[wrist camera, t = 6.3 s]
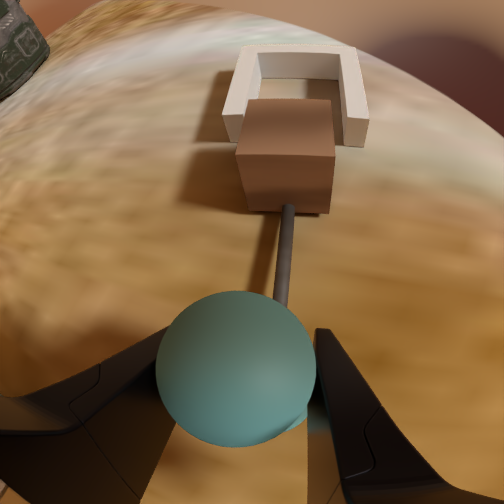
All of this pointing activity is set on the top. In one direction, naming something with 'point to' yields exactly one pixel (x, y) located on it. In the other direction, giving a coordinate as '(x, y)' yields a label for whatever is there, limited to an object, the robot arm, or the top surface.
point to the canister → (18, 47)
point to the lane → (299, 66)
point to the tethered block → (255, 294)
